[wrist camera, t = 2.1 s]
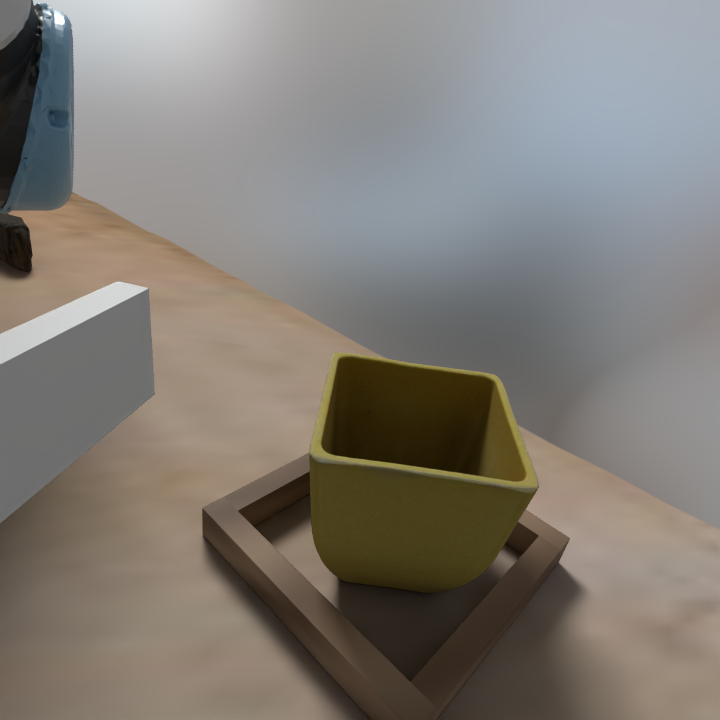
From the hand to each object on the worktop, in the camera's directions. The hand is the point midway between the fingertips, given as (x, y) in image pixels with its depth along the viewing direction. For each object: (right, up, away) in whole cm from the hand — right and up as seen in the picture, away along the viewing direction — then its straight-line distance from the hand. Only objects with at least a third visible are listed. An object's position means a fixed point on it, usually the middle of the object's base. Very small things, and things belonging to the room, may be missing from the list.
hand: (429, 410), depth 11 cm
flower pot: (0, -9, +16) cm, 19 cm away
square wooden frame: (0, -9, +16) cm, 18 cm away
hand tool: (-40, +13, +46) cm, 63 cm away
